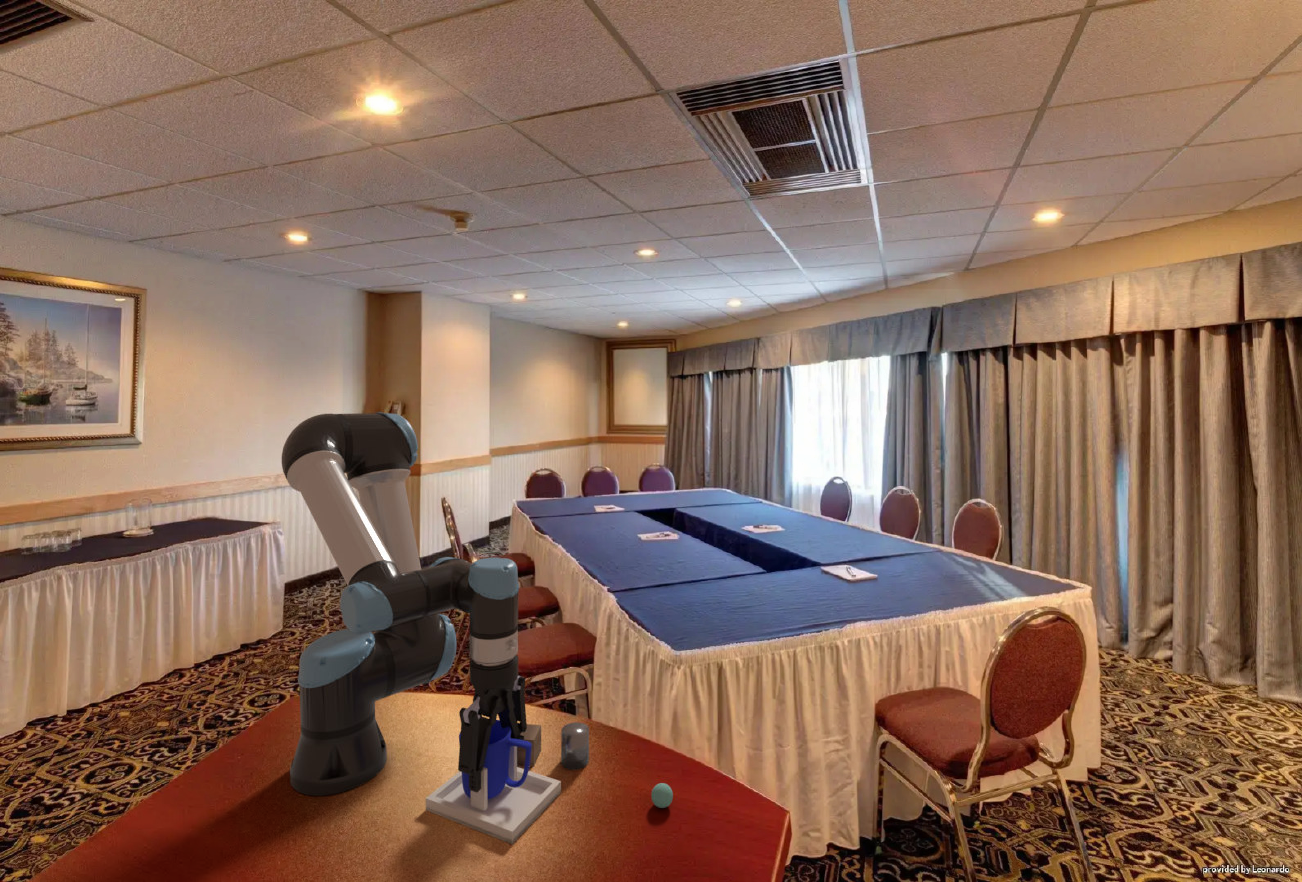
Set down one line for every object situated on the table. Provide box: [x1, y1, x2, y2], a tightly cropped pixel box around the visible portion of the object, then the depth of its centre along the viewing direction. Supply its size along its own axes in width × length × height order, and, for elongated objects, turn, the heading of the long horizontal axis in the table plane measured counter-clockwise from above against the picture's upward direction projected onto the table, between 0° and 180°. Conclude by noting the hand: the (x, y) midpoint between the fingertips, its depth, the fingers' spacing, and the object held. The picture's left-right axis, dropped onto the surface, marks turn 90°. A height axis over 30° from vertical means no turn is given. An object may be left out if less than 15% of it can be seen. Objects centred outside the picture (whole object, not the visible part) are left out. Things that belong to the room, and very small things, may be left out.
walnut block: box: [517, 723, 542, 767], centre depth 111 cm, size 5×5×5 cm
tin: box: [560, 722, 590, 771], centre depth 110 cm, size 5×5×6 cm
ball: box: [650, 782, 674, 809], centre depth 99 cm, size 4×4×4 cm
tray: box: [425, 766, 562, 845], centre depth 99 cm, size 17×13×2 cm
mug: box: [458, 719, 532, 800], centre depth 100 cm, size 8×12×10 cm
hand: (494, 792), depth 99 cm, fingers closed on mug, 7 cm apart
